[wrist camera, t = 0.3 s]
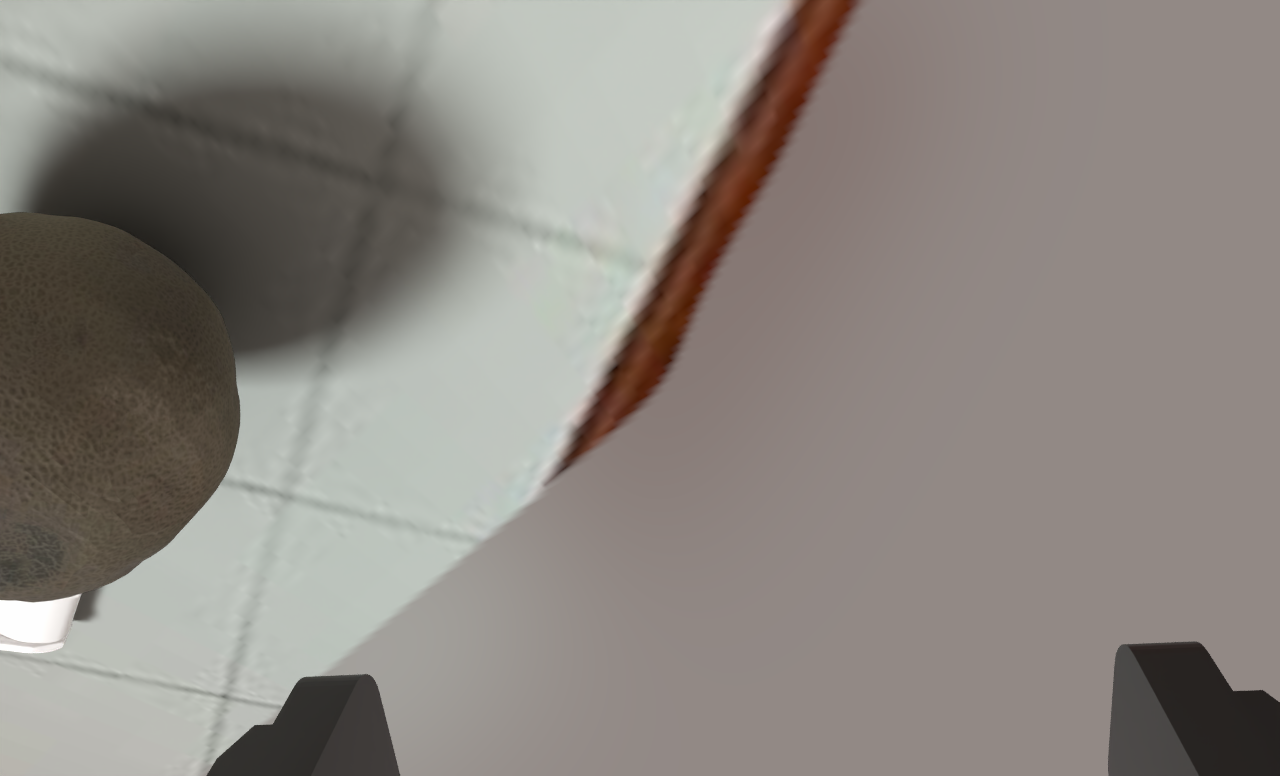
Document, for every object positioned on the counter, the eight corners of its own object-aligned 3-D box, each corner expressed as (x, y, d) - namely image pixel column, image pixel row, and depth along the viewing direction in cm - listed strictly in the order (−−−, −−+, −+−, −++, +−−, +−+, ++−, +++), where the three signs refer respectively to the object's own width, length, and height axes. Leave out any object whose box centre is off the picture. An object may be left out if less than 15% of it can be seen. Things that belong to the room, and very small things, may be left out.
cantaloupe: (288, 420, 51) (188, 705, 40) (-34, 369, 49) (-233, 653, 38) (292, 161, 42) (163, 437, 31) (-104, 84, 40) (-395, 350, 29)
